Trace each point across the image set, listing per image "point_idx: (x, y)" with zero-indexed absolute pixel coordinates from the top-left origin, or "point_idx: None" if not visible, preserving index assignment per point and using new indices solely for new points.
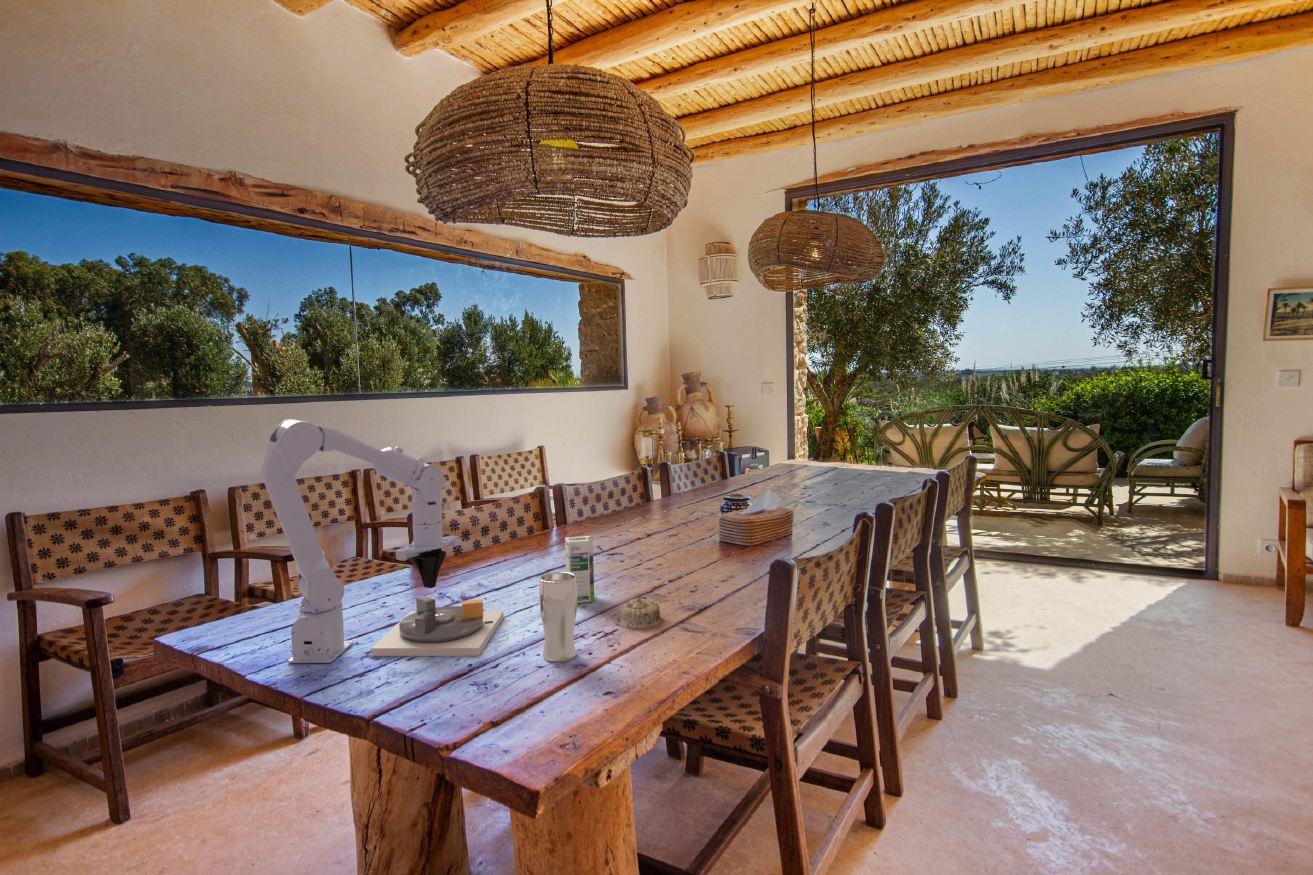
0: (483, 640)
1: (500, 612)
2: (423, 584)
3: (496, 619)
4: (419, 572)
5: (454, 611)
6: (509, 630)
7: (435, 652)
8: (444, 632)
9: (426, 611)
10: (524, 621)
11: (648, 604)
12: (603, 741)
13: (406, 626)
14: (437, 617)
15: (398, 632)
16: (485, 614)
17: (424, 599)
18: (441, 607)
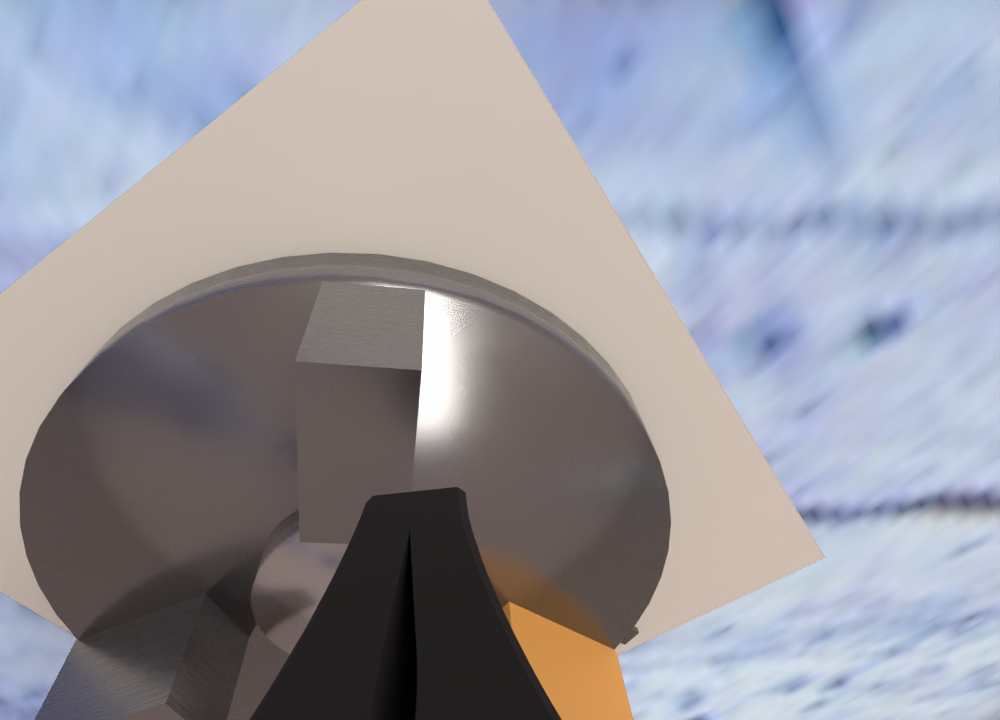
0: None
1: (794, 560)
2: (360, 522)
3: (677, 619)
4: (275, 682)
5: (540, 508)
6: (649, 652)
7: None
8: (241, 717)
9: (167, 705)
10: (795, 623)
11: None
12: None
13: (76, 501)
14: (288, 638)
15: (75, 361)
16: (721, 526)
17: (330, 473)
18: (551, 361)
